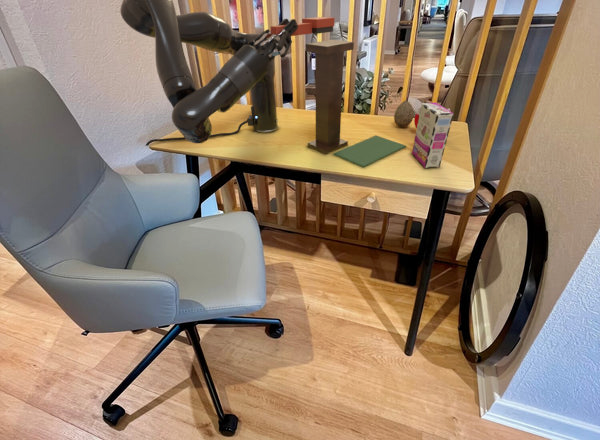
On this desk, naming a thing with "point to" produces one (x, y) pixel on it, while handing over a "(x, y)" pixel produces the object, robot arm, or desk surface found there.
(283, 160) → the desk surface
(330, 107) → the stand
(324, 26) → the brush
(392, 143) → the felt mat
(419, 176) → the desk surface
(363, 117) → the desk surface
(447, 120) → the candy bar box
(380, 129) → the desk surface
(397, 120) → the decorative egg
